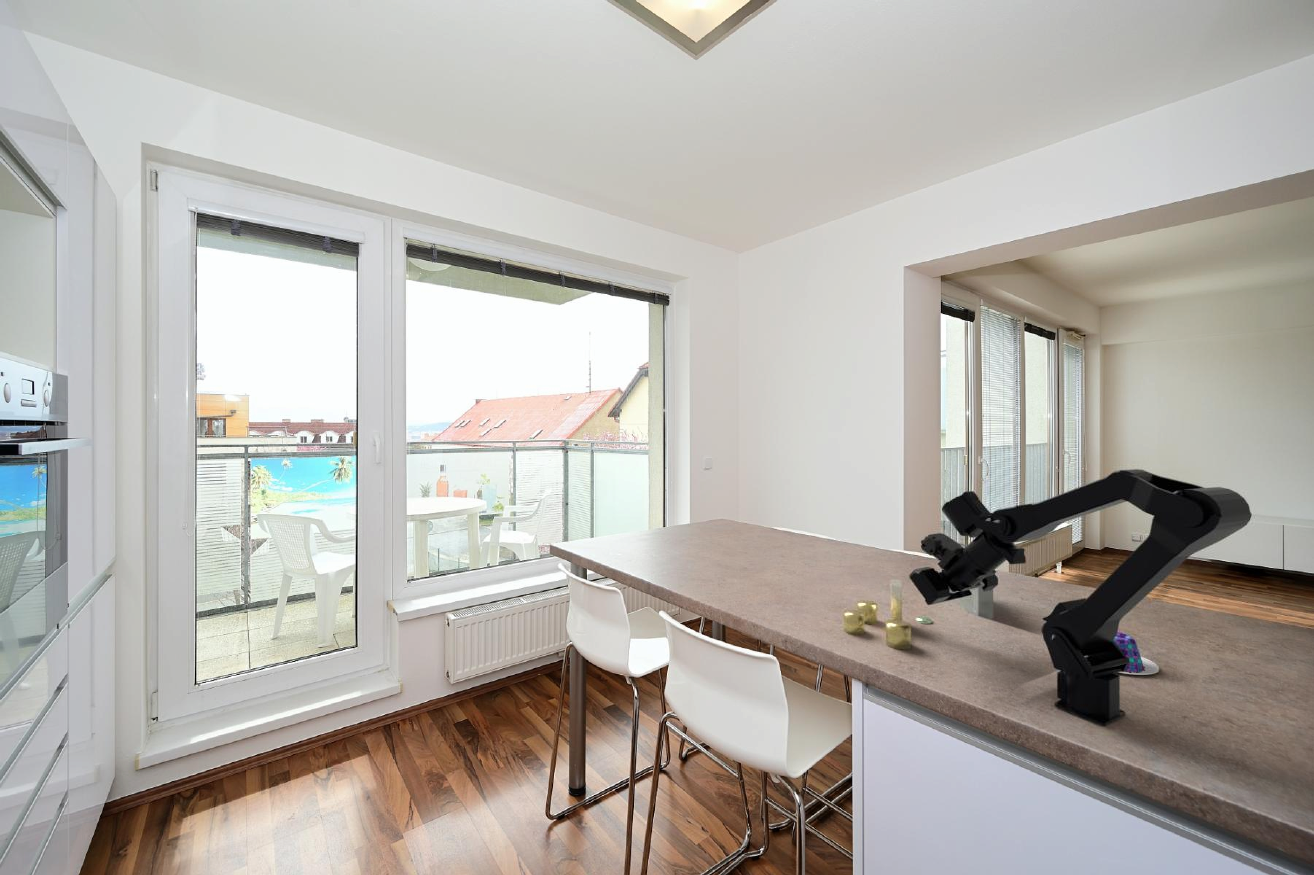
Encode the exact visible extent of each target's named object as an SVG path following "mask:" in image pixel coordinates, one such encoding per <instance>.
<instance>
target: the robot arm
mask: <svg viewBox="0 0 1314 875" xmlns="http://www.w3.org/2000/svg"><path fill="white" fill-rule="evenodd" d="M1127 502H1128V503H1129V504H1131V505H1133V506H1134V507H1135V508H1137V509H1139V510H1141V511H1142V512H1144V513H1146V514H1148V515H1150V516H1152V520H1151V524H1150V530H1149V534H1148V535H1147V537H1146V539H1144V540H1143V542H1141V544H1140V545H1139V546H1137V547H1136V549H1135V550H1134V551H1133V552H1132V553H1131V554H1130V555H1128V557H1126V559H1125V560H1124V561H1122V563H1120V565H1119V566H1118V567H1117V568H1116V569H1115V570H1114V571H1113V572H1112V573H1111V574H1109V575H1108V577H1107V578H1106V579H1105V580H1104V581H1102V583H1101V584H1100V585H1098V586H1097V588H1096V589H1095V590H1094V591H1092V593H1091V594H1090V595H1089V596H1088V597H1086V598H1079V599H1072V600H1067V601H1060V602H1058V603H1057V605H1056V606H1055V607H1054V608H1053V609H1052V612H1051V613H1050V614H1049V615H1047V616H1044V617H1042V620H1043V621H1045V623H1043V625H1042V627H1041V634H1042V636H1043V641H1044V642H1045V645H1046V647H1047V651H1048V654H1049V657H1050V660H1051V663H1052V665H1053V668H1054V669H1055V670H1058V672H1057V673H1056V684H1057V685H1056V689H1057V690H1056V691H1057V692H1056V694H1057V695H1056V697H1057V699H1058V700H1056V701H1054V706H1055V707H1056V708H1059V709H1061V710H1064V711H1066V712H1068V713H1071V714H1073V715H1074V716H1075V715H1076V716H1078V717H1080V718H1083V719H1085V720H1087V721H1090V722H1093V723H1095V724H1097V725H1100V726H1107V725H1109V724H1112V723H1113V722H1115V721H1117V720H1120V719H1121V718H1123V717H1125V716H1126V714H1127V712H1126V711H1125V710H1124V709H1123V710H1122V709H1120V707H1121V704H1120V702H1121V701H1120V698H1121V697H1120V693H1121V690H1120V689H1121V686H1120V684H1121V683H1120V681H1121V680H1120V678H1121V677H1120V675H1119V674H1118V673H1119V672H1127V671H1126V669H1127V667H1128V665H1129V663H1130V660H1129V659H1128V658H1127V656H1126V655H1125V654H1124V653H1123V652H1122V651H1121V649H1120V648H1119V647H1118V646H1117V645H1116V643H1115V642H1114V641H1113V639H1114V638H1115V636H1116V635H1117V632H1119V625H1120V622H1121V620H1122V619H1123V618H1124V617H1125V616H1126V615H1127V614H1129V613H1130V612H1131V611H1132V609H1134V608H1135V607H1136V606H1137V605H1138V604H1139V603H1140V602H1141V601H1142V600H1144V599H1145V598H1146V597H1147V596H1148V595H1149V594H1150V593H1151V592H1152V591H1153V590H1154V589H1155V588H1157V587H1158V586H1159V585H1160V584H1161V583H1163V581H1164V580H1165V579H1166V578H1168V576H1170V575H1171V574H1172V573H1173V572H1174V571H1175V570H1176V569H1177V568H1178V567H1179V566H1181V565H1182V564H1183V563H1184V562H1185V561H1186V560H1187V559H1189V558H1190V557H1191V556H1192V555H1194V554H1195V553H1198V552H1201V551H1202V550H1205V549H1206V548H1209V547H1210V546H1213V545H1214V544H1217V543H1220V542H1221V541H1223V540H1224V539H1227V538H1228V537H1230V536H1231V535H1232V534H1235V533H1236V532H1238V531H1240V530H1242V529H1243V528H1245V527H1246V526H1247V525H1248V524H1249V522H1250V521H1251V519H1252V516H1253V515H1252V513H1251V509H1250V505H1249V503H1248V502H1247V500H1246V499H1245V497H1243V496H1242V495H1241V494H1239V492H1236V491H1235V490H1232V489H1230V488H1227V487H1226V488H1225V487H1220V486H1218V487H1217V486H1216V487H1213V486H1212V487H1204V486H1201V485H1198V484H1196V483H1195V484H1194V483H1190V482H1186V481H1183V480H1178V479H1173V478H1169V477H1165V476H1160V475H1158V474H1154V473H1153V472H1152V473H1151V472H1149V471H1147V470H1144V469H1138V468H1134V469H1133V468H1132V469H1119V470H1115V471H1113V472H1111V473H1110V474H1109V475H1107V476H1104V477H1102V478H1099V479H1097V480H1094V481H1091V482H1089V483H1085V484H1083V485H1081V486H1078V487H1075V488H1073V489H1071V490H1070V489H1069V490H1068V491H1065V492H1062V493H1059V494H1057V495H1054V496H1052V497H1050V498H1047V499H1043V500H1041V501H1038V502H1031V503H1026V504H1019V505H1014V506H1008V507H1007V506H1006V507H1003V508H998V509H996V510H994V511H993V512H990V511H989V509H988V508H987V507H986V505H985V504H983V502H982V501H981V500H980V497H978V495H977V493H976V492H975V491H973V490H971V491H970V490H969V491H963V493H962V494H960V495H957V496H956V497H954V498H952V499H950V500H949V501H947V502H945V503H944V504H943V506H942V507H941V511H942V513H943V515H945V517H946V518H947V519H948V521H949V522H950V524H952V526H953V528H954V529H955V530H956V531H957V532H958V534H959V535H960V536H961V537H969V538H974V539H972V541H970V542H969V543H968V544H967V545H965V546H966V547H965V548H963V547H962V546H961V545H960V544H959V543H957V542H956V541H957V540H954V539H952V538H951V537H950V536H948V535H947V534H944V533H941V532H938V533H932V534H928V535H927V536H924V539H921V541H920V543H921V545H920V548H921V551H923V552H924V553H926V554H927V555H929V556H932V557H934V558H935V559H936V560H938V561H939V562H938V563H937V566H938V567H940V569H941V571H940V572H938V570H935V568H934V567H930V566H925V567H920V568H916V569H913V570H912V572H911V573H909V576H908V577H909V579H910V581H911V582H912V584H913V585H914V586H915V587H916V589H917V590H918V592H919V593H920V594H921V596H922V597H923V598H924V601H925V603H926V605H927V606H931V605H935V604H939V603H940V604H941V603H945V602H950V601H952V600H953V601H955V600H954V599H958V598H962V597H966V596H970V595H972V593H971V591H970V590H969V589H974V588H978V587H979V586H980V585H981V584H980V581H982V582H983V583H984V586H983V587H982V588H981V589H982V591H983V592H985V591H989V590H992V589H993V590H994V589H995V588H996V587H997V586H998V585H999V577H998V576H997V575H996V574H997V570H996V569H997V568H999V567H1000V566H1001V565H1002V564H1004V563H1005V562H1006V561H1007V562H1008V564H1009V565H1021V564H1022V565H1023V564H1026V562H1027V559H1026V555H1025V550H1026V549H1025V548H1024V547H1019V546H1017V545H1016V544H1015V543H1020V542H1021V543H1022V542H1027V541H1028V542H1029V541H1036V540H1039V539H1041V538H1043V537H1045V536H1047V535H1048V534H1050V533H1052V532H1053V531H1055V529H1057V528H1058V527H1059V526H1060V525H1062V524H1064V523H1066V522H1068V521H1072V520H1075V519H1077V518H1080V517H1084V516H1087V515H1090V514H1093V513H1095V512H1099V511H1102V510H1105V509H1107V508H1111V507H1114V506H1117V505H1120V504H1123V503H1127Z"/></svg>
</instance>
